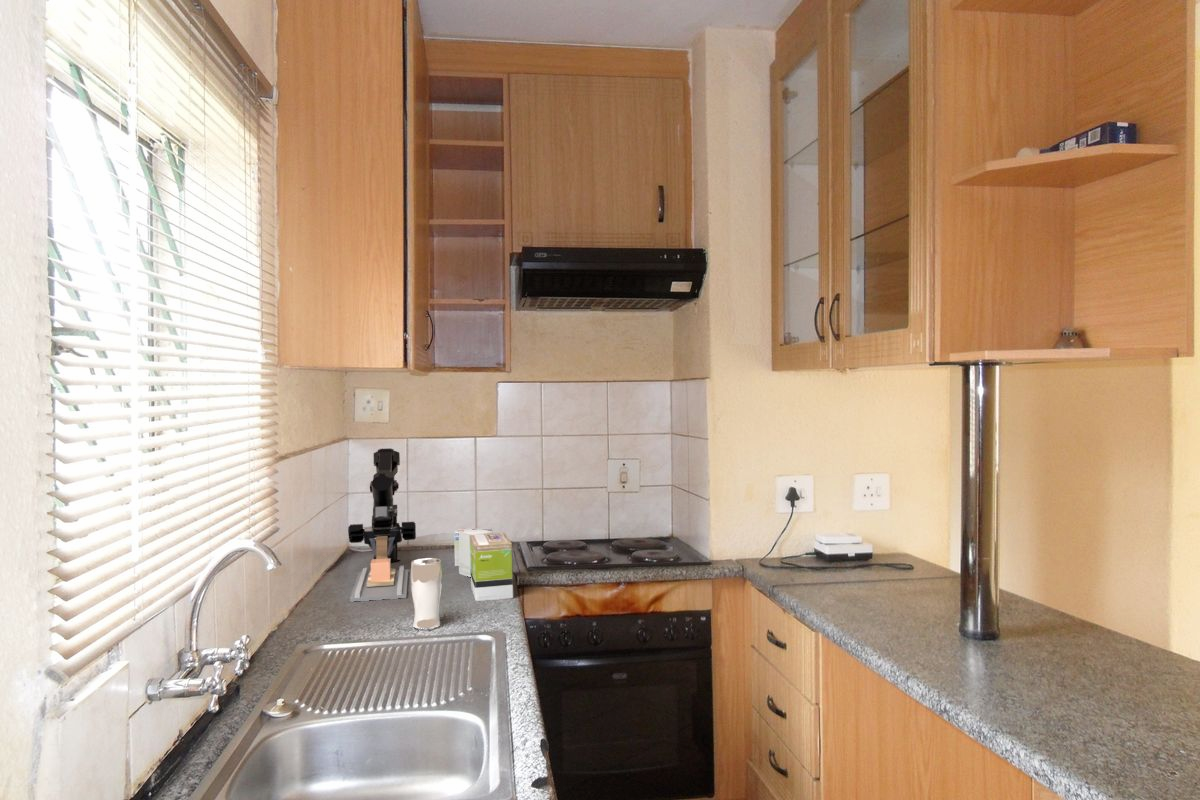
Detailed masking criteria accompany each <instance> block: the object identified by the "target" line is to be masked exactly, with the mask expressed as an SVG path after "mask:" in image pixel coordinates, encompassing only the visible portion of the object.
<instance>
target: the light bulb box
mask: <svg viewBox="0 0 1200 800" xmlns="http://www.w3.org/2000/svg"><path fill="white" fill-rule="evenodd" d="M476 529H477V528H458V529H456V530H455V531H454V532H453V541H454V542H453V543H454V544H453V549H454V551H453V554H454V567H459V532H461V531H468V530H476ZM481 529H482V530H487V531H492V532H493V528H481Z"/></svg>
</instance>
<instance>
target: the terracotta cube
mask: <svg viewBox="0 0 1200 800" xmlns="http://www.w3.org/2000/svg"><path fill="white" fill-rule="evenodd" d="M391 564H392V562H391V559H390V558H388V559H374V558H372V559H371V560H370V570H371V582H373V581H389V580H390V578H391V569H392V567H391Z"/></svg>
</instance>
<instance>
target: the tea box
mask: <svg viewBox="0 0 1200 800" xmlns="http://www.w3.org/2000/svg"><path fill="white" fill-rule="evenodd" d="M513 569H514V568H513V543H512V542H511V540H510V539H509V538H508V536H507V535H506V533H505V532H498V533H497V532H496V533H495V532H494V533H492V534H480V535H470V571H471V578H470V588H471V592H472V594H473V597H474V600H475V602H486V600H490V601H498V600H500V599H501V600H510V599H513V598H514V580H513V579H514V576H513V575H514V574H513V573H514V571H513ZM501 600H500V601H501Z"/></svg>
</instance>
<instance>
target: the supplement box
mask: <svg viewBox="0 0 1200 800" xmlns="http://www.w3.org/2000/svg"><path fill="white" fill-rule="evenodd" d="M475 529H476V530H468V531H461V532H459V566H458V574H459V575H461V576H464V577H467V576H468V578H470V577H471V571H470V535H480V534H493V530H492V531H487V530H482V529H483V528H475Z"/></svg>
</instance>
